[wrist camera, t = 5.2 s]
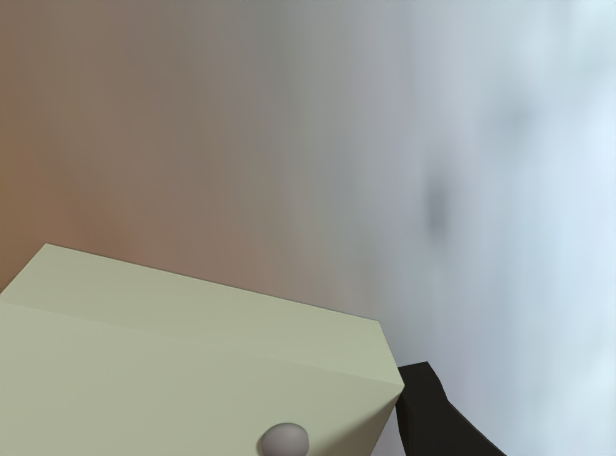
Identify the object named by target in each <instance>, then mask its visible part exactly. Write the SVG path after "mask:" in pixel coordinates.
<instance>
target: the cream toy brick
mask: <svg viewBox="0 0 616 456" xmlns="http://www.w3.org/2000/svg"><path fill="white" fill-rule="evenodd" d="M404 386H405V385H404V383H403V381H402V378H401V376H400V373H399V371H398V368H397V366H396V364H395V361H394V359H393V356H392V354H391V351H390V349H389V347H388V344H387V342H386V339H385V337H384V334H383V332H382V330H381V327H380V325H379V322H378V321H374V320H370V319H365V318H361V317H357V316H353V315H348V314H344V313H340V312H336V311H331V310H327V309H323V308H319V307H314V306H310V305H306V304H302V303H297V302H293V301H289V300H285V299H280V298H276V297H272V296H268V295H263V294H259V293H255V292H251V291H246V290H242V289H238V288H234V287H229V286H225V285H221V284H216V283H212V282H208V281H204V280H199V279H195V278H191V277H187V276H182V275H178V274H174V273H170V272H165V271H161V270H157V269H153V268H148V267H144V266H140V265H136V264H131V263H127V262H123V261H119V260H114V259H110V258H106V257H102V256H97V255H93V254H89V253H85V252H80V251H76V250H72V249H68V248H63V247H59V246H55V245H51V244H45V245H44V246H43V247H42V248H41V249H40V250H39V252H38V253H37V254H36V255H35V256H34V257H33V258H32V259H31V261H30V262H29V263H28V264H27V265H26V266H25V267H24V268H23V269H22V271H21V272H20V273H19V274H18V275H17V276H16V277H15V278H14V280H13V281H12V282H11V283H10V284H9V285H8V286H7V287H6V288H5V290H4V291H3V292H2V293H1V294H0V456H370V455H371V453H372V451H373V449H374V447H375V445H376V443H377V441H378V439H379V436H380V434H381V432H382V430H383V428H384V426H385V424H386V422H387V420H388V418H389V416H390V414H391V412H392V410H393V408H394V406H395V404H396V402H397V400H398V398H399V396H400V394H401V392H402V390H403V388H404Z"/></svg>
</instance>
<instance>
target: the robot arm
mask: <svg viewBox="0 0 616 456" xmlns="http://www.w3.org/2000/svg"><path fill="white" fill-rule="evenodd" d="M397 368H398V371H399V373H400V376H401V378H402V381H403V383H404V385H405V386H404V388H403V390H402V392H401V394H400V396H399V398H398V400H397V402H396V404H395V407H396V414H397V420H398V427H399V433H400V436H401V440H402V443H403V447H404V450H405V454H406V456H507V455H505V454H504V453H503V452H502V451H501V450H500V449H498V448H497V447H496V446H495V445H494V444H493V443H492V442H490V441H489V440H488V439H487V438H486V437H485V436H484V435H483V434H482V433H481V432H479V431H478V430H477V429H476V428H475V427H474V426H473V425H472V424H471V423H470V422H469V421H468V420H467V419H466V418H465V417H464V416H463V415H462V414H461V413H460V412H459V411H458V410H457V409H456V408H455V407H454V406H453V405H452V404H451V403H450V402H449V401H448V399H447V397H446V394H445V392H444V389H443V387H442V384H441V382H440V380H439V378H438V377H437V375H436V374H435V372H434V370H433V369H432V368H431V366H430V365H429V363H428V362H427V361H426V362H421V363H417V364H412V365H407V366H402V367H397Z"/></svg>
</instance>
